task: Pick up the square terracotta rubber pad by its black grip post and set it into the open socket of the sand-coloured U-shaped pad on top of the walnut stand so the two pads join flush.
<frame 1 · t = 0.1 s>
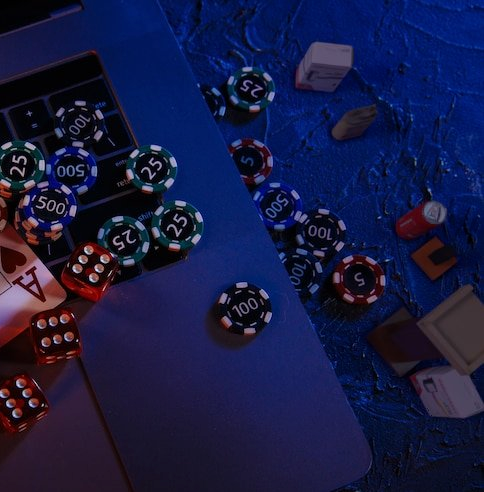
stand: (399, 341, 124), on the table
beverage can: (405, 229, 129), on the table
dock pad: (465, 329, 100), resting on stand
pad: (432, 258, 127), on the table
tan tapered block: (346, 130, 134), on the table
ink box 2: (314, 82, 137), on the table
ink box: (429, 391, 121), on the table
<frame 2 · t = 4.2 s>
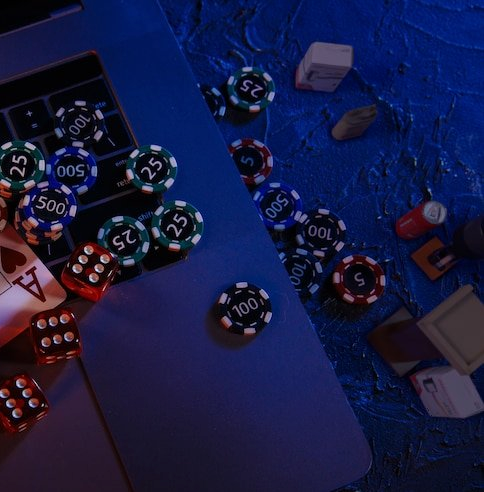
hand: (437, 257, 126), 2 cm above the table, tool pointing down, fingers closed on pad, 2 cm apart
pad: (432, 259, 127), on the table, touching gripper
everything else where it was.
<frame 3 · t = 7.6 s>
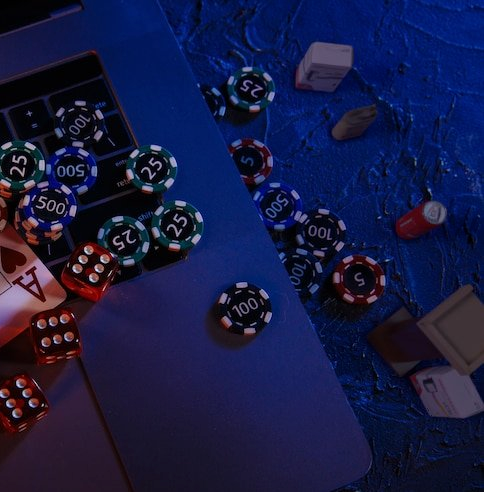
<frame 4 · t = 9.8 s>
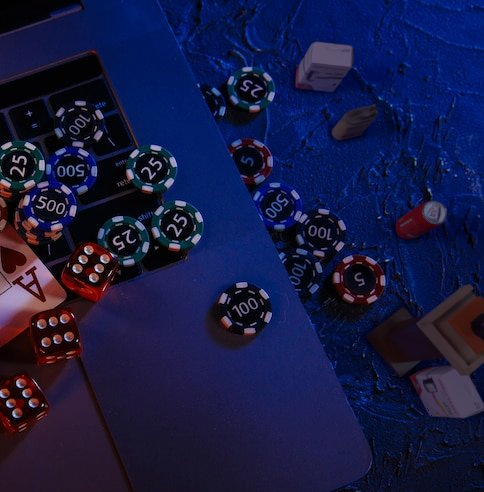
hand: (483, 324, 96), 28 cm above the table, tool pointing down, fingers closed on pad, 2 cm apart
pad: (476, 325, 98), point 27 cm above the table, touching gripper
everything else where it was.
when the fingers open (26 cm above the table, at t = 10.9 s): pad stays where it is, resting on dock pad.
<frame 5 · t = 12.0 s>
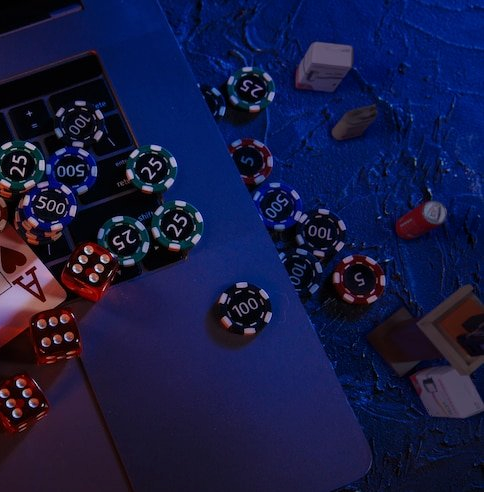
hand: (481, 325, 96), 28 cm above the table, tool pointing down, fingers open, 8 cm apart
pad: (467, 327, 100), point 24 cm above the table, touching dock pad
everything else where it was.
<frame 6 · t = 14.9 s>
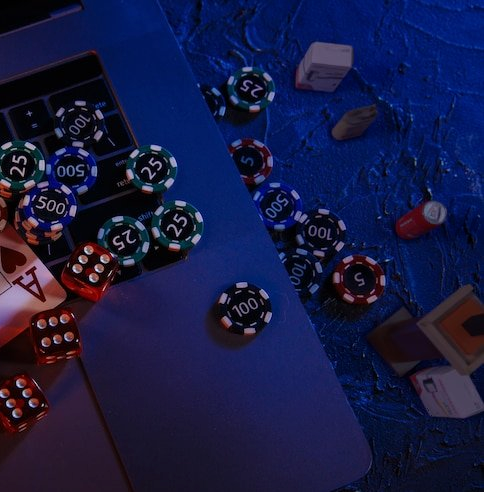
nothing on the table moved.
at the end: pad 0.1 cm off-centre on the dock pad, point 0.0 cm above the dock pad's base; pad tilted 0°; the gripper is holding nothing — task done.
